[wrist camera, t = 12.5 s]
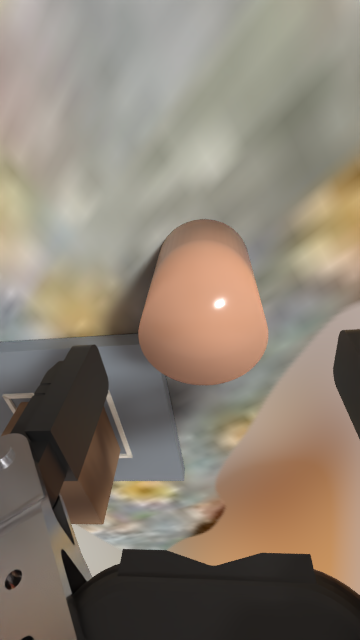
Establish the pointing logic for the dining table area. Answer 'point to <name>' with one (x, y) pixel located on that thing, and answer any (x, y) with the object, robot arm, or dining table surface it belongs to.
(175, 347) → the terracotta cylinder
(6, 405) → the board
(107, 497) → the walnut block
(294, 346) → the dining table surface
